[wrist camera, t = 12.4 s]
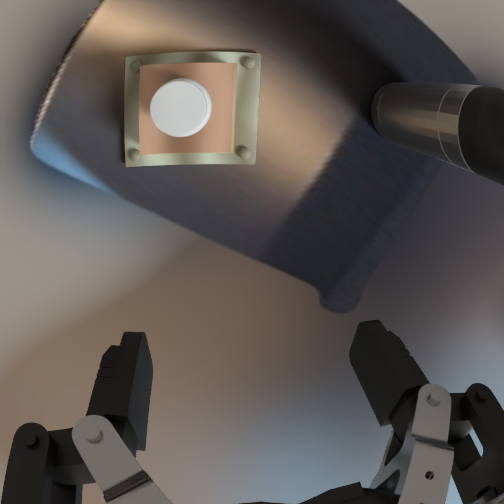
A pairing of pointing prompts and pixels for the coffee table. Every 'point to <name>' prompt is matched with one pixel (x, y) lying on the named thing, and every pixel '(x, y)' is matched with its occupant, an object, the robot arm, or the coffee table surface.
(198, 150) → the stepped pedestal block
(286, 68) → the coffee table surface
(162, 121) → the supplement bottle
